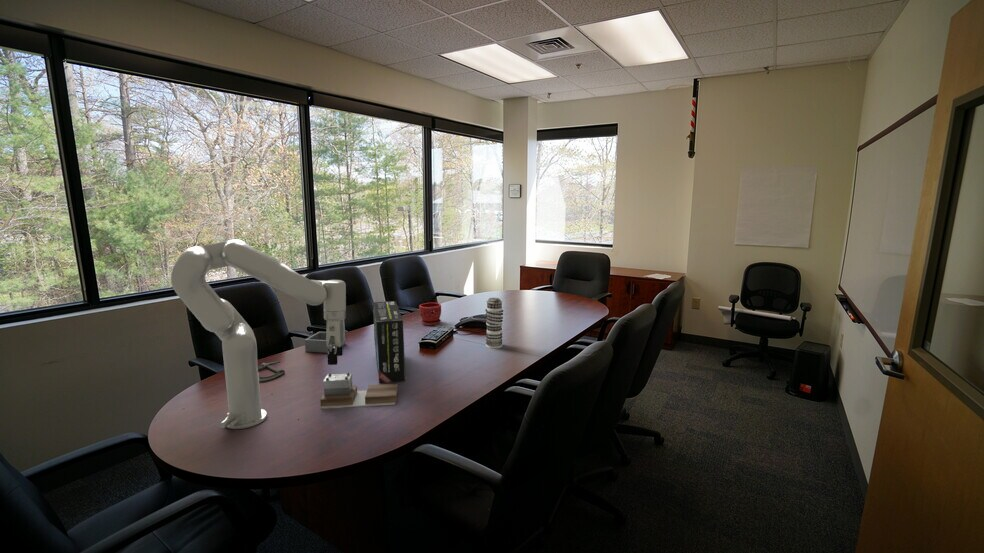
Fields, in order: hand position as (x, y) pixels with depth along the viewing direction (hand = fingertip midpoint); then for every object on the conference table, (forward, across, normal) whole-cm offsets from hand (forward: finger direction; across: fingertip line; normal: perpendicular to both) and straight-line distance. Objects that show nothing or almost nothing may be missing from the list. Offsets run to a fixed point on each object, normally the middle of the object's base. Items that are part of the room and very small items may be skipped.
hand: (335, 359), depth 162 cm
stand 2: (+15, 0, -17) cm, 23 cm away
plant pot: (+13, +103, -36) cm, 110 cm away
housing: (+13, 0, -1) cm, 13 cm away
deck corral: (+15, +63, +17) cm, 67 cm away
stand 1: (+16, +1, -1) cm, 16 cm away
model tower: (+13, +56, -68) cm, 89 cm away
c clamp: (+17, +32, +34) cm, 50 cm away
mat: (+16, 0, -9) cm, 18 cm away
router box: (+15, +32, -17) cm, 39 cm away
